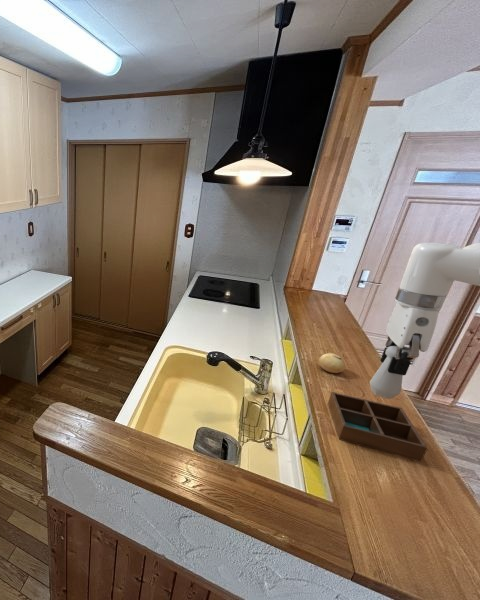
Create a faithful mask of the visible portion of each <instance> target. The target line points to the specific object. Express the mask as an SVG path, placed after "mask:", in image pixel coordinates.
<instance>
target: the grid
mask: <svg viewBox="0 0 480 600" xmlns="http://www.w3.org/2000/svg"><path fill="white" fill-rule="evenodd" d="M328 405H329V406H328ZM327 406H328V410H329V413H330V416H331V418H332V421H333V426H334V428H335V431H336V434H337V437H338V439H339V440H341V441H344V442H349V443H352V444H356V445H359V446H363V447H366V448H370V449H373V450H377V451H381V452H384V453H388V454H391V455H395V456H398V457H402V458H406V459H409V460H413V461H416V462H422V460H423V458H424V456H425V454H426V452H427V450H428V447H427V445H426V444H425V442H424V440H423V439H422V437H421V436H420V434H419V432H418V431H417V429H416V428H415V426H414V425H413V423H412V421H411V420H410V419H409V416H408V415H407V414H406V412H405V411H404V409H403V408H402V407H399V406H394V405H390V404H386V403H381V402H377V401H373V400H367V399H363V398H359V397H355V396H351V395H346V394H343V393H338V392H333V391H331V392H330V395H329V399H328V402H327Z"/></svg>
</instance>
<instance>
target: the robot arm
mask: <svg viewBox="0 0 480 600" xmlns="http://www.w3.org/2000/svg"><path fill="white" fill-rule="evenodd" d="M453 281H455V282H460V283H465V284H469V285H473V286H476V287H477V286H478V287H480V242H476V243H472V244H469V245H466V246H464V247H460V246H458V245H455V244H451V243H443V242H420V243H417V244H416V245H414V247H413V248H412V250H411V253H410V256H409V258H408V262H407V265H406V267H405V269H404V273H403V276H402V278H401V281H400V283H399V286H398V289H397V292H396V295H395V298H394V302H395V306H394V307H393V310H392V312H391V314H390V316H389V319H388V322H387V325H386V329H385V333H386V335H387V341H386V342H385V347H384V349H383V352H382V355H381V358H380V362H381V364H382V363H383V362H384V360H385V359H386V358H387V355H386V354H385V352H386V349H387V348H388V347H390V346H398V347H397V351H396V355H395V357H392V360H391V362H390V365H389V368H388V372H389V373H394V374H399V375H403V376H406V375H407V373H408V371H409V368H410V366H411V363H412V362H413V361H414V359H416V358H418V357H419V356H420V352H422V353H425V352H427V351H428V349H429V347H430V345H431V341H432V339H433V336H434V333H435V329H436V326H437V322H438V317H439V311H441V310H442V307H443V305H444V303H445V300H446V297H447V295H448V294H449V291H450V288H451V286H452V284H453ZM402 349H403V350H408V352H403V353H402Z"/></svg>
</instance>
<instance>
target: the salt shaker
mask: <svg viewBox="0 0 480 600" xmlns="http://www.w3.org/2000/svg"><path fill="white" fill-rule="evenodd" d="M397 347H398V346H390V347H386V348H387V349H386V352H385V354H386V355H387V358H386V359H385V360H384V362H383V363H382V362H381V365H380V366H379V367H378V369H377V371H375V373H374V374H373V376H372V377H371V379H370V381H369V387H370V390H371V392H372V393H373V394H374V395H375V396H377V397H379V398H383V399H386V400H387V399H388V400H389V399H394V398H396V397H397V396H398V395H400V393H401V391H402V384H403V377H404V375H399V374H394V373H389V372H388V368H389V365H390V362H391V360H392V357H395V355H396V351H397ZM408 351H409V350H403V349H402V353H403V352H408Z"/></svg>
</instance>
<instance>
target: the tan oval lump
mask: <svg viewBox="0 0 480 600" xmlns="http://www.w3.org/2000/svg"><path fill="white" fill-rule="evenodd" d="M342 356H343V354H341V355H338V354H336V353H332V352H329V353H324V354H322V355H321V356H320V357H319V358H318V361H317V362H318V365H319V367H320V368H321V369H322V368H323V369H322V370H324V371H326V372H327V373H330V374H339V373H342V372H343V371H345V368H346V363H345V361H344V359H343V358H342Z"/></svg>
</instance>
